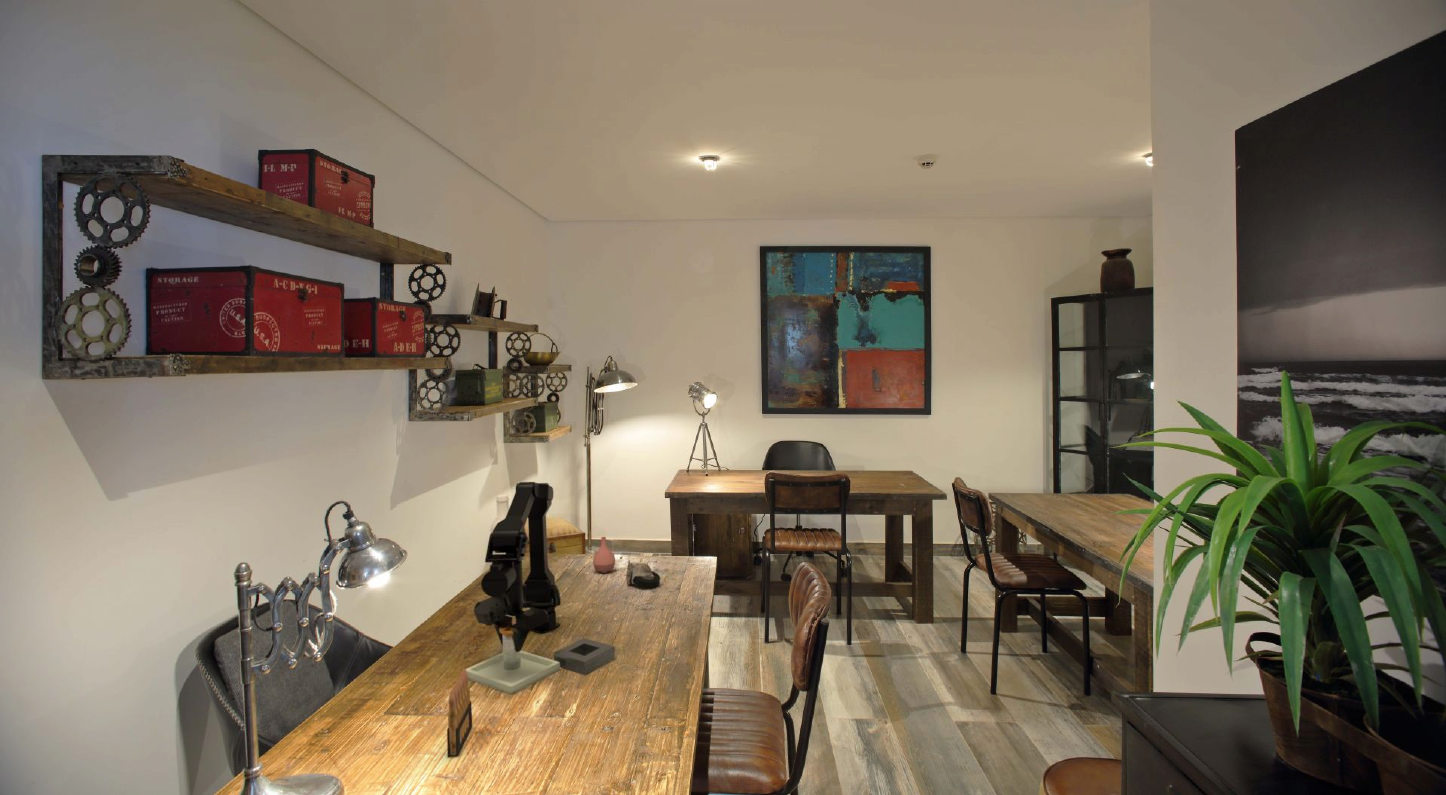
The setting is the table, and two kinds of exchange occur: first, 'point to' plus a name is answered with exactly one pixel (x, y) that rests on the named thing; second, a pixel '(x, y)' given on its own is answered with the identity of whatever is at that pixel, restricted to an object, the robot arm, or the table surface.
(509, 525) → the robot arm
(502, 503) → the bottle
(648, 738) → the table surface
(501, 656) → the tray
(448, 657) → the table surface
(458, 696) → the ammunition clip
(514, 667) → the light grey cylindrical piece
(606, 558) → the pink vase
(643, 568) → the caster wheel
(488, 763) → the table surface
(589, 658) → the block
